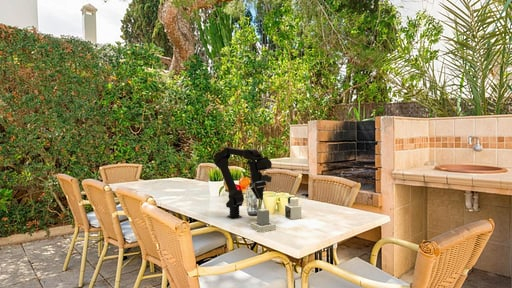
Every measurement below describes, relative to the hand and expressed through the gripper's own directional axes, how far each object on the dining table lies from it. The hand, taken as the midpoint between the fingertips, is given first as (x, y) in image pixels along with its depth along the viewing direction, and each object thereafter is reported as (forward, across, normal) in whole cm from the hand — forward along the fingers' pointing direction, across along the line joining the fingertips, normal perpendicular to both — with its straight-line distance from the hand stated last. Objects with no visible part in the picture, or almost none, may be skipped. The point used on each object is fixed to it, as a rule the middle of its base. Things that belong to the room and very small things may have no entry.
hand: (259, 199), depth 193 cm
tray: (+14, -11, +3) cm, 18 cm away
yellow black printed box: (+14, +8, -19) cm, 25 cm away
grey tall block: (+14, -11, +3) cm, 18 cm away
